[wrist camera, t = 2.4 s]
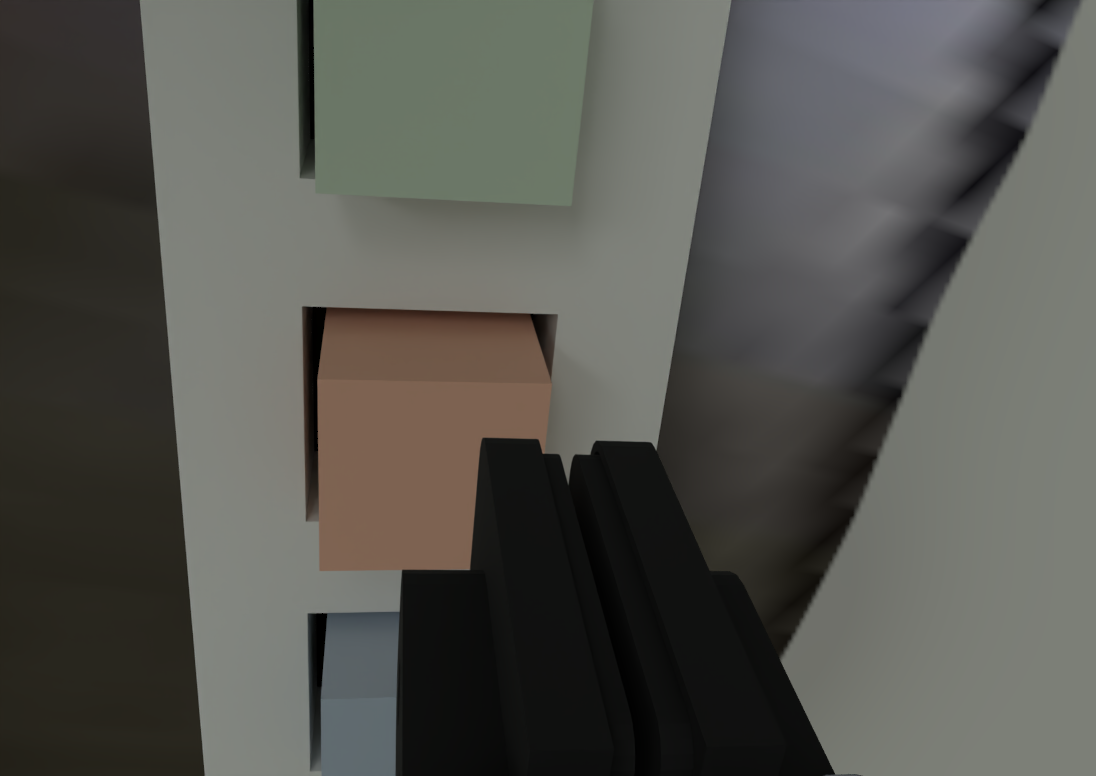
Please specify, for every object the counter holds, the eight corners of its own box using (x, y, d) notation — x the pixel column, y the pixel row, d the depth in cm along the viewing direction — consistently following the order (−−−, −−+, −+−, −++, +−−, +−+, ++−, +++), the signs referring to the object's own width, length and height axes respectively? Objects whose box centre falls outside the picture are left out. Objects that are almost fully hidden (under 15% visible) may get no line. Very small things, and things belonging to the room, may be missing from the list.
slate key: (328, 596, 29) (320, 699, 25) (502, 593, 29) (518, 692, 26) (329, 725, 31) (322, 836, 27) (491, 719, 32) (504, 826, 28)
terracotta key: (326, 305, 25) (317, 378, 21) (529, 311, 25) (552, 383, 22) (327, 478, 27) (319, 570, 23) (513, 478, 28) (531, 568, 24)
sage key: (324, -103, 20) (312, -95, 17) (565, -79, 21) (600, -67, 18) (326, 142, 23) (315, 193, 19) (543, 154, 24) (570, 206, 20)
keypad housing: (151, -317, 20) (110, -347, 17) (720, -242, 22) (774, -258, 19) (226, 756, 34) (211, 846, 31) (576, 741, 36) (593, 824, 33)
